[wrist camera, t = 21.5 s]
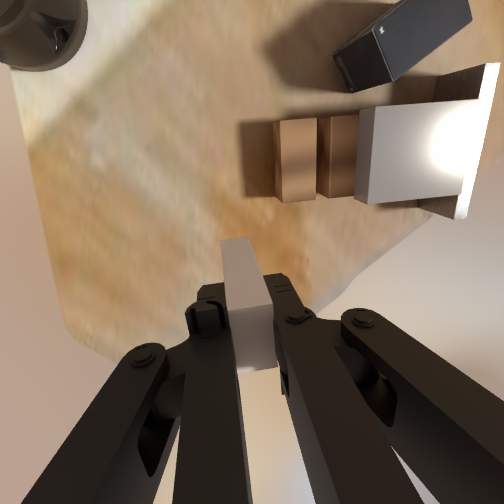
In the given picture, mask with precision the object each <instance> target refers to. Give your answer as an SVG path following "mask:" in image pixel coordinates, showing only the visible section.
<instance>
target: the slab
mask: <svg viewBox="0 0 504 504" xmlns="http://www.w3.org/2000/svg"><path fill="white" fill-rule="evenodd" d="M480 103H481V99H474V100H460V101H447V102H433V103H419V104H406V105H392V106H378V107H372V108H366V109H361V110H360V113H359V129H358V144H357V159H356V174H355V189H354V199H356V200H358V201H360V202H363V203H365V204H376V203H386V202H395V201H404V200H414V199H423V198H432V197H442V196H451V195H460V194H461V193H462V188H463V183H464V179H465V174H466V169H467V164H468V160H469V155H470V150H471V146H472V141H473V136H474V131H475V127H476V122H477V117H478V112H479V108H480Z"/></svg>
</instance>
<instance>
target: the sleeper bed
mask: <svg viewBox="0 0 504 504" xmlns="http://www.w3.org/2000/svg"><path fill="white" fill-rule="evenodd" d="M272 124H273V147H274V170H275V193H276V198H278V199H279V200H280V201H281V202H282V203H290V202H300V201H309V200H316V142H317V118H307V119H294V120H281V121H276V122H273V123H272ZM358 129H359V114H358V115H346V116H333V117H326V118H321V119H318V177H317V193H319V194H321V195H323V196H325V197H327V198H338V197H347V196H354V189H355V174H356V159H357V144H358Z"/></svg>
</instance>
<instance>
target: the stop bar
mask: <svg viewBox="0 0 504 504" xmlns="http://www.w3.org/2000/svg"><path fill="white" fill-rule="evenodd" d="M499 68H500V63H486V64H482V65H479V66H475V67H471V68H468V69H464V70H460V71H457V72H453V73H449V74H446V75H442V76H438V81H437V88H436V94H435V101H434V102H447V101H460V100H474V99H481V103H480V108H479V112H478V117H477V122H476V127H475V131H474V136H473V141H472V146H471V150H470V155H469V160H468V164H467V169H466V174H465V179H464V183H463V188H462V193H461V194H460V195H451V196H442V197H432V198H423V199H419V204H418V208H421V209H424V210H427V211H430V212H433V213H436V214H439V215H442V216H445V217H448V218H451V219H453V220H454V219H462V218H466V215H467V211H468V206H469V202H470V197H471V193H472V188H473V184H474V179H475V175H476V171H477V166H478V162H479V157H480V153H481V148H482V144H483V139H484V135H485V130H486V126H487V121H488V117H489V112H490V108H491V103H492V99H493V95H494V90H495V86H496V81H497V77H498V72H499Z"/></svg>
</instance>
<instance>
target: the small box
mask: <svg viewBox="0 0 504 504" xmlns="http://www.w3.org/2000/svg"><path fill="white" fill-rule="evenodd" d="M471 22H472V15H471V10H470V7H469V3H468V0H400V1H398V2H397V3H395V4H394V5H393V6H391V7H390V8H389V9H388V10H386V11H385V12H384V13H383V14H381V15H380V16H379V17H378V18H376V19H375V20H374V21H373V22H371V23H370V24H369V25H367V26H366V27H365V28H364V29H362V30H361V31H360V32H358V33H357V34H356V35H354V37H352V38H351V39H350V40H348V41H347V42H346V43H345V44H344V45H343V46H341V47H340V48H339V49H338V50H337V51H335V52H334V53H333V57H334V59H335V61H336V62H337V65H338V67H339V69H340V71H341V73H342V75H343V77H344V79H345V81H346V84H347V86H348V88H349V90H350V92H351V93H355V92H358V91H362V90H365V89H368V88H372V87H375V86H379V85H382V84H386V83H389V82H393V81H395V80H396V79H398V78H399V77H400V76H402V75H403V74H404V73H405V72H407V71H408V70H409V69H411V68H412V67H413V66H415V65H416V64H417V63H418V62H420V61H421V60H422V59H424V58H425V57H426V56H427V55H429V54H430V53H431V52H433V51H434V50H435V49H437V48H438V47H439V46H441V45H442V44H443V43H444V42H446V41H447V40H448V39H450V38H451V37H452V36H454V35H455V34H456V33H458V32H459V31H460V30H461V29H463V28H464V27H465V26H467V25H468V24H469V23H471Z"/></svg>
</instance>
